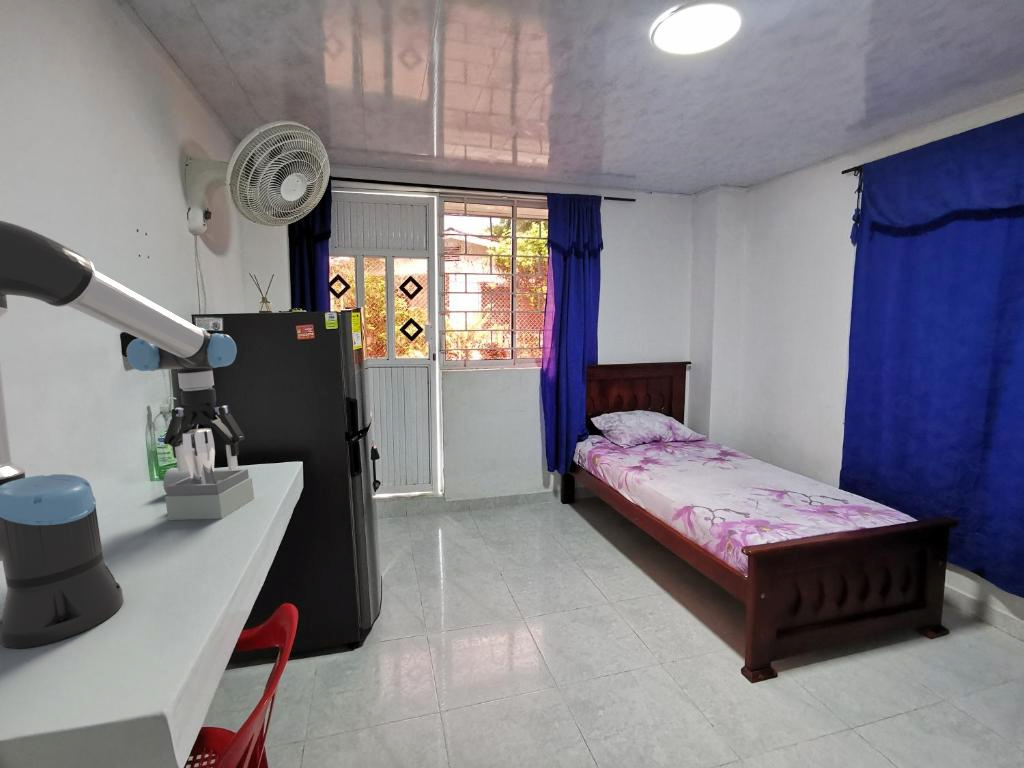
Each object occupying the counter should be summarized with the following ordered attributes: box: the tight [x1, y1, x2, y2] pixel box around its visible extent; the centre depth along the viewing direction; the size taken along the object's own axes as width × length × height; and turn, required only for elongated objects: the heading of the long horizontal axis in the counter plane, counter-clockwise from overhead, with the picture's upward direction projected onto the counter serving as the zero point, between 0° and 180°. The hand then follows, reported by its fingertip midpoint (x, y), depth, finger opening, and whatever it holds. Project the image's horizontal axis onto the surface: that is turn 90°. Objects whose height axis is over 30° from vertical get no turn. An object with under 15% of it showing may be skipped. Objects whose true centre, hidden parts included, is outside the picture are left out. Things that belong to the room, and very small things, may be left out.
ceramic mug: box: [162, 467, 190, 495], centre depth 147 cm, size 11×8×8 cm
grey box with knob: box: [164, 468, 255, 521], centre depth 130 cm, size 14×17×8 cm
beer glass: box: [181, 427, 217, 485], centre depth 129 cm, size 7×7×15 cm
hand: (208, 469), depth 129 cm, fingers open, 13 cm apart
